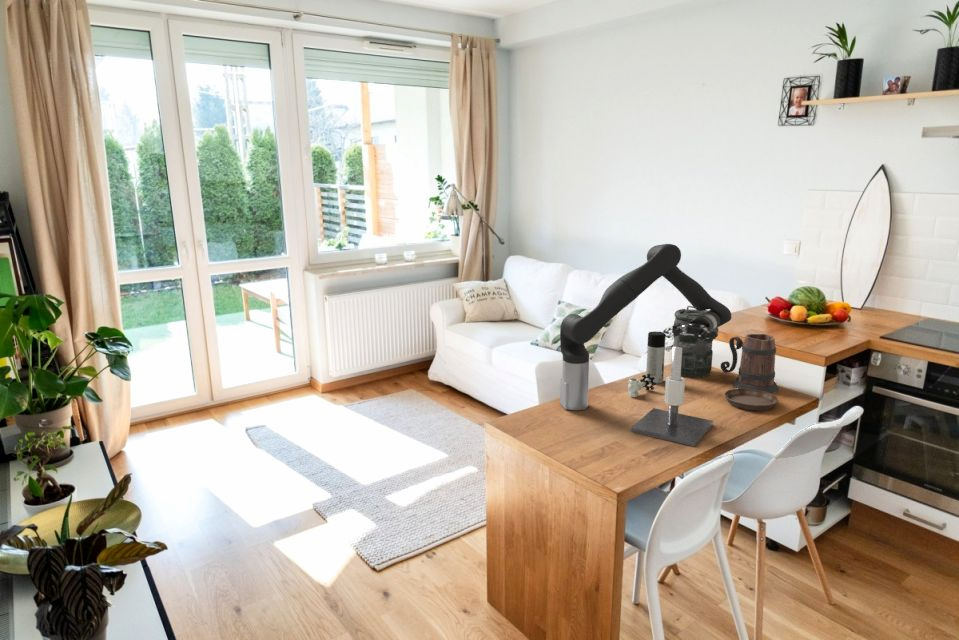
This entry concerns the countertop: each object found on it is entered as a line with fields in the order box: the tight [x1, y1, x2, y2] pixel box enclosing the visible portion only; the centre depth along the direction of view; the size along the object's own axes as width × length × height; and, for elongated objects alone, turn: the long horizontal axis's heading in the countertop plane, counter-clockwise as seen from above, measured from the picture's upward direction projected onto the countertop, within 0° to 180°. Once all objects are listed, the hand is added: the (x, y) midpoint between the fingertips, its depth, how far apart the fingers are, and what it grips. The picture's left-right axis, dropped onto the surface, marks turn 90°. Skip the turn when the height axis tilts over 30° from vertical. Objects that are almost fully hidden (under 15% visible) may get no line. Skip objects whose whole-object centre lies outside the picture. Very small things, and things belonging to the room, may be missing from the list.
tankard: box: [720, 333, 780, 394], centre depth 237 cm, size 24×17×20 cm
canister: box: [672, 305, 715, 378], centre depth 250 cm, size 16×16×28 cm
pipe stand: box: [630, 345, 714, 447], centre depth 195 cm, size 20×20×28 cm
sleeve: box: [664, 375, 686, 406], centre depth 195 cm, size 5×5×8 cm
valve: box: [627, 374, 657, 398], centre depth 229 cm, size 7×7×12 cm
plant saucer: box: [723, 388, 779, 412], centre depth 218 cm, size 18×18×3 cm
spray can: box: [645, 331, 666, 385], centre depth 241 cm, size 7×7×20 cm
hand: (688, 335), depth 200 cm, fingers open, 8 cm apart
